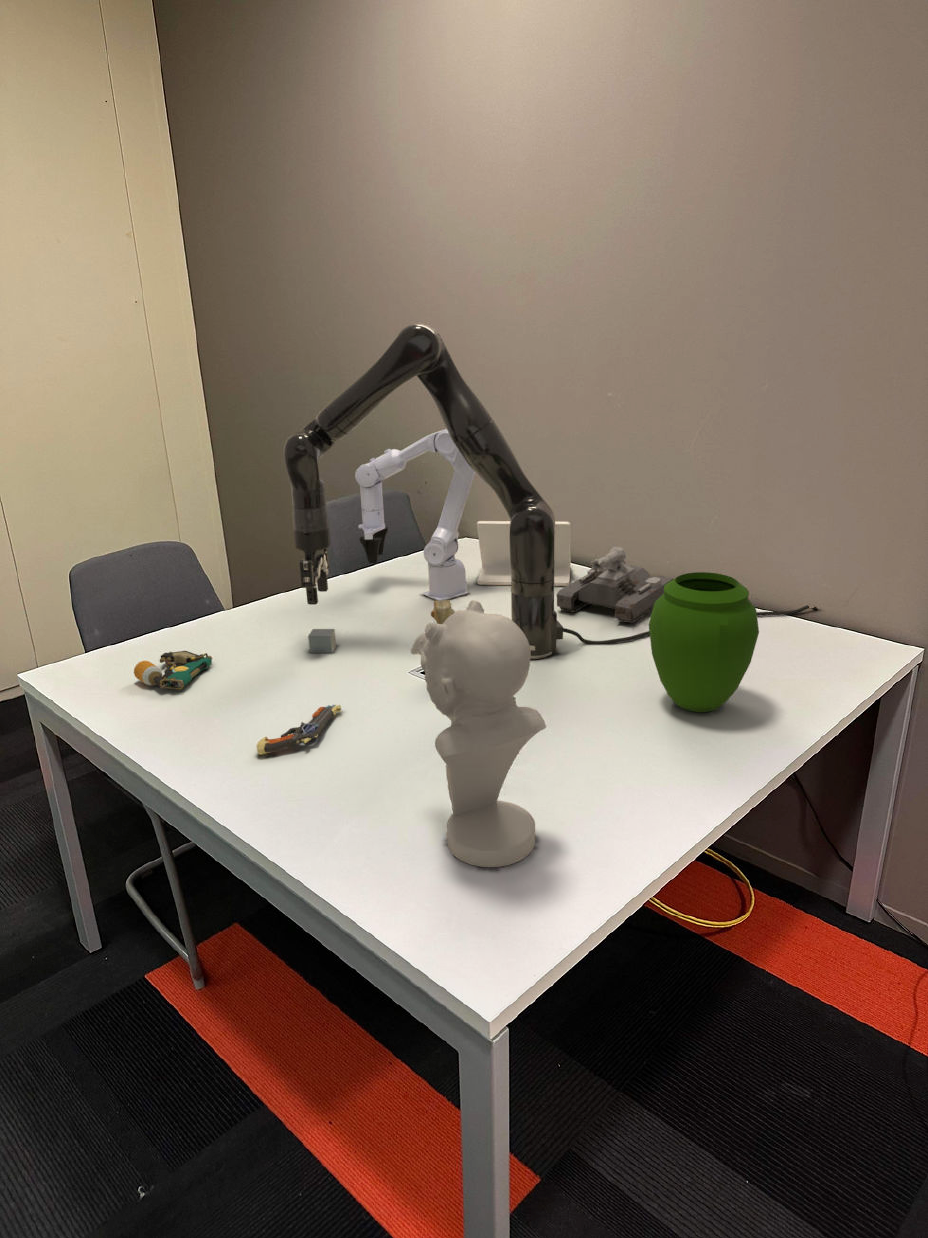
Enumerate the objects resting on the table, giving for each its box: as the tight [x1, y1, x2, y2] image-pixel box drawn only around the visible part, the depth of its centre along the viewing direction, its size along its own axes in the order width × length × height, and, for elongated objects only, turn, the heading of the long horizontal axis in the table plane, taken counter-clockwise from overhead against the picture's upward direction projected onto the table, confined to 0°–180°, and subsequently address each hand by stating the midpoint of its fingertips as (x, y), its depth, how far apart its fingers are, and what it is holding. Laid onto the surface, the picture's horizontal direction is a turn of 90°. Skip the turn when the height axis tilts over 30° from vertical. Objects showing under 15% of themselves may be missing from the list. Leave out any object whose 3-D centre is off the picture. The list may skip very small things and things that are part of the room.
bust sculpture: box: [410, 599, 547, 868], centre depth 121 cm, size 16×24×35 cm
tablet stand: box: [476, 520, 572, 587], centre depth 236 cm, size 18×25×17 cm
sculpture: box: [430, 599, 456, 624], centre depth 177 cm, size 6×7×15 cm
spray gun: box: [133, 650, 213, 690], centre depth 180 cm, size 4×17×15 cm
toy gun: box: [256, 704, 342, 756], centre depth 155 cm, size 3×19×10 cm
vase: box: [648, 571, 760, 713], centre depth 157 cm, size 20×20×24 cm
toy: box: [556, 546, 675, 624], centre depth 212 cm, size 25×20×15 cm
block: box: [307, 628, 337, 654], centre depth 192 cm, size 4×5×4 cm
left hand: (375, 558), depth 229 cm, fingers open, 7 cm apart
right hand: (318, 597), depth 188 cm, fingers open, 8 cm apart
